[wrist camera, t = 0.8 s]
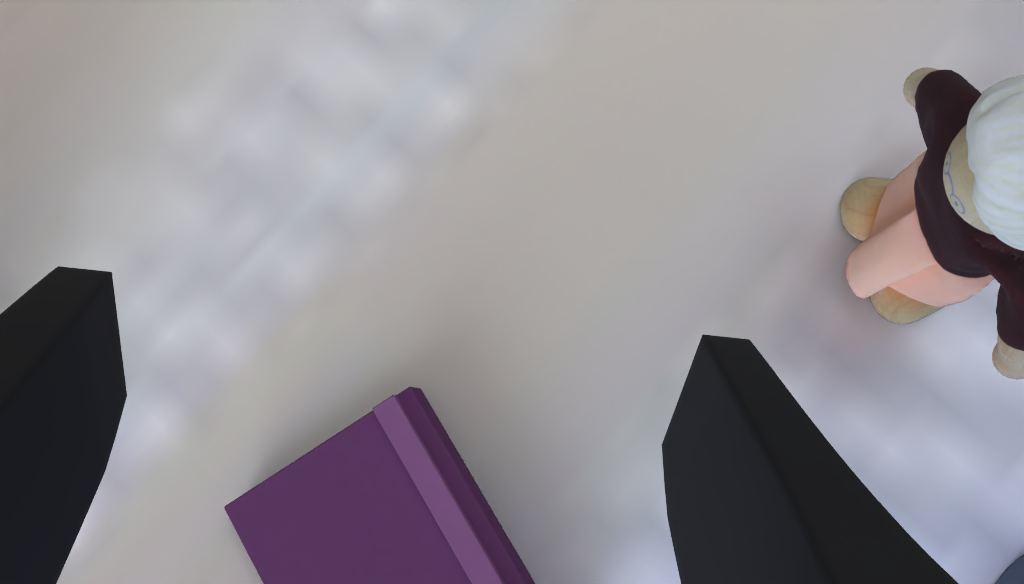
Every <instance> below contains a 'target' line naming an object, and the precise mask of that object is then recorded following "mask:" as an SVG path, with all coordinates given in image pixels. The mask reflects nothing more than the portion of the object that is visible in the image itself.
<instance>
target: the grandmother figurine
mask: <svg viewBox="0 0 1024 584" xmlns="http://www.w3.org/2000/svg"><path fill="white" fill-rule="evenodd" d="M903 91H904V97H905V99H906V101H907V102H908V103H909V104H910V105H911V106H913V107H915V109H916V112H917V114H918V118H919V124H920V128H921V131H922V134H923V138H924V141H925V144H926V146H927V151H925V152H924V153H923V154H921V155H920V156H919V157H918V158H917V159H916V160H915V161H914V162H913V163H912V164H911V165H910V166H908V167H907V168H906V169H904V170H903V171H902V172H900V173H899V174H898V175H897V176H896V177H895V178H894V179H885V178H875V177H871V178H864V179H860V180H858V181H856V182H854V183H853V184H851V185H850V186H849V187H848V188H847V190H846V191H845V193H844V194H843V197H842V200H841V219H842V223H843V225H844V227H845V228H846V230H847V231H848V232H849V233H850V234H851V235H852V236H853V237H855V238H857V239H858V240H861V241H862V242H861V243H860V244H859V245H858V246H857V247H856V248H855V249H854V250H853V251H852V252H851V254H850V255H849V258H848V262H847V268H846V276H847V280H848V283H849V285H850V287H851V289H852V291H853V292H854V294H855V295H856V296H857V297H860V298H862V299H865V298H868V297H870V299H871V301H872V304H873V306H874V308H875V309H876V311H877V312H878V313H879V314H880V315H881V316H883V317H884V318H885V319H887V320H889V321H891V322H894V323H901V324H906V323H912V322H915V321H917V320H920V319H922V318H924V317H926V316H928V315H929V314H931V313H933V312H935V311H937V310H939V309H940V308H942V307H944V306H946V305H951V304H955V303H959V302H963V301H965V300H967V299H969V298H970V297H971V296H973V295H975V294H977V293H978V292H980V291H981V290H982V289H983V288H984V287H985V286H987V285H988V284H989V283H990V282H991V281H992V280H994V279H996V280H997V281H998V282H999V283H1000V288H999V292H998V300H997V308H996V313H997V331H998V338H997V344H996V346H995V348H994V350H993V354H992V361H993V364H994V366H995V368H996V369H997V371H998V372H1000V373H1001V374H1002V375H1004V376H1006V377H1008V378H1012V379H1024V75H1021V76H1016V77H1012V78H1008V79H1005V80H1003V81H1001V82H999V83H997V84H995V85H993V86H991V87H990V88H988V89H987V90H985V91H984V92H983V93H982V94H981V93H980V92H979V91H978V90H977V89H975V88H974V87H973V86H972V85H971V84H970V83H968V82H967V80H965V79H964V78H963V77H962V76H961V75H959V74H958V73H956V72H954V71H952V70H937V69H934V68H921V69H918V70H916V71H914V72H913V73H911V74H910V76H909V77H908V78H907V79H906V81H905V83H904V89H903Z"/></svg>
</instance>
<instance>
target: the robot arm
mask: <svg viewBox="0 0 1024 584" xmlns="http://www.w3.org/2000/svg"><path fill="white" fill-rule="evenodd" d="M126 397H127V393H126V385H125V376H124V368H123V360H122V352H121V344H120V336H119V328H118V319H117V311H116V303H115V295H114V287H113V279H112V272H106V271H96V270H87V269H77V268H68V267H57V268H55V269H54V270H53V271H51V272H50V273H49V274H48V275H46V276H45V277H44V278H43V279H42V280H40V281H39V282H38V283H37V284H35V285H34V286H33V287H32V288H31V289H30V290H28V291H27V292H26V293H25V294H24V295H23V296H21V297H20V298H19V299H18V300H17V301H16V302H14V303H13V304H12V305H11V306H10V307H8V308H7V309H6V310H5V311H4V312H3V313H1V314H0V584H56V583H57V580H58V578H59V576H60V574H61V571H62V569H63V567H64V565H65V562H66V560H67V558H68V556H69V553H70V551H71V549H72V546H73V544H74V542H75V540H76V537H77V535H78V533H79V531H80V528H81V526H82V524H83V521H84V519H85V517H86V514H87V512H88V510H89V508H90V505H91V503H92V501H93V498H94V496H95V494H96V491H97V489H98V487H99V484H100V482H101V479H102V477H103V475H104V472H105V470H106V467H107V463H108V460H109V457H110V453H111V450H112V447H113V443H114V440H115V437H116V433H117V429H118V426H119V422H120V419H121V415H122V411H123V408H124V404H125V400H126ZM662 453H663V468H664V482H665V494H666V505H667V516H668V522H669V527H670V532H671V537H672V542H673V546H674V551H675V556H676V561H677V566H678V570H679V575H680V580H681V584H958V583H957V582H956V581H955V580H954V579H953V578H952V577H951V576H950V575H949V574H948V573H947V572H946V571H945V570H944V569H943V568H942V567H941V566H940V565H939V564H937V563H936V562H935V561H934V560H933V559H932V558H931V557H930V556H929V555H928V554H927V553H926V552H925V551H924V550H923V549H922V548H921V547H920V546H919V545H918V543H917V542H916V541H915V540H914V539H913V538H912V537H911V536H910V535H909V534H908V533H907V532H906V531H905V530H904V529H903V528H902V527H901V525H900V524H899V523H898V522H897V521H896V520H895V519H894V518H893V517H892V516H891V514H890V513H889V512H888V511H887V510H886V509H885V508H884V507H883V506H882V505H881V503H880V502H879V501H878V500H877V499H876V498H875V497H874V496H873V495H872V493H871V492H870V491H869V490H868V489H867V488H866V486H865V485H864V484H863V483H862V482H861V481H860V479H859V478H858V477H857V476H856V475H855V474H854V472H853V471H852V470H851V469H850V468H849V466H848V465H847V464H846V463H845V462H844V460H843V459H842V458H841V457H840V456H839V454H838V453H837V452H836V451H835V449H834V448H833V447H832V446H831V444H830V443H829V442H828V441H827V440H826V438H825V437H824V436H823V434H822V433H821V432H820V431H819V429H818V428H817V427H816V426H815V424H814V423H813V422H812V421H811V419H810V418H809V417H808V415H807V414H806V413H805V411H804V410H803V409H802V408H801V406H800V405H799V404H798V402H797V401H796V400H795V398H794V397H793V396H792V395H791V393H790V392H789V391H788V389H787V388H786V387H785V385H784V384H783V383H782V381H781V380H780V379H779V377H778V376H777V375H776V373H775V372H774V371H773V369H772V368H771V367H770V366H769V364H768V363H767V362H766V360H765V359H764V358H763V356H762V355H761V354H760V352H759V351H758V350H757V349H756V347H755V346H754V345H753V344H752V342H751V341H750V340H748V339H739V338H729V337H720V336H711V335H702V338H701V341H700V343H699V346H698V349H697V351H696V354H695V357H694V360H693V362H692V365H691V368H690V370H689V373H688V376H687V378H686V381H685V384H684V387H683V389H682V392H681V395H680V397H679V400H678V403H677V406H676V408H675V411H674V414H673V416H672V419H671V422H670V424H669V427H668V430H667V433H666V435H665V438H664V441H663V443H662Z"/></svg>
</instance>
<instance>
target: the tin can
mask: <svg viewBox="0 0 1024 584" xmlns="http://www.w3.org/2000/svg"><path fill="white" fill-rule="evenodd" d="M996 584H1024V555H1023V556H1022V557H1020V558H1019V559H1018V560H1017V561H1015V562H1014V563H1013V564H1012V565H1011V566H1010V567H1009V568H1008V569H1007V570H1006V571H1005V572H1004V574H1003V575H1002V576H1001V577H1000V578H999V580H998V581H997V582H996Z"/></svg>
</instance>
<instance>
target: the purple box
mask: <svg viewBox="0 0 1024 584" xmlns="http://www.w3.org/2000/svg"><path fill="white" fill-rule="evenodd" d="M224 508H225V510H226V512H227V514H228V516H229V518H230V520H231V522H232V524H233V526H234V528H235V529H236V531H237V533H238V535H239V537H240V539H241V541H242V543H243V545H244V547H245V549H246V551H247V553H248V554H249V556H250V558H251V560H252V562H253V564H254V566H255V568H256V570H257V572H258V574H259V576H260V577H261V579H262V581H263V583H264V584H535V583H534V581H533V579H532V577H531V576H530V574H529V572H528V571H527V569H526V567H525V566H524V564H523V562H522V560H521V559H520V557H519V555H518V554H517V552H516V550H515V549H514V547H513V545H512V543H511V542H510V540H509V538H508V537H507V535H506V533H505V531H504V530H503V528H502V526H501V525H500V523H499V521H498V520H497V518H496V516H495V514H494V513H493V511H492V509H491V508H490V506H489V504H488V503H487V501H486V499H485V497H484V496H483V494H482V492H481V491H480V489H479V487H478V485H477V484H476V482H475V480H474V479H473V477H472V475H471V474H470V472H469V470H468V468H467V467H466V465H465V463H464V462H463V460H462V458H461V457H460V455H459V453H458V451H457V450H456V448H455V446H454V445H453V443H452V441H451V439H450V438H449V436H448V434H447V433H446V431H445V429H444V428H443V426H442V424H441V422H440V421H439V419H438V417H437V416H436V414H435V412H434V411H433V409H432V407H431V405H430V404H429V402H428V400H427V399H426V397H425V395H424V394H423V392H422V390H421V389H420V388H414V387H408V388H407V389H405V390H404V391H402V392H401V393H399V394H398V395H392V396H391V397H389V398H388V399H386V400H385V401H383V402H382V403H380V404H379V405H377V406H375V407H374V408H373V411H371V412H370V413H368V414H367V415H365V416H364V417H362V418H361V419H359V420H358V421H356V422H354V423H353V424H351V425H350V426H348V427H347V428H345V429H344V430H342V431H341V432H339V433H337V434H336V435H334V436H333V437H331V438H330V439H328V440H327V441H325V442H324V443H322V444H320V445H319V446H317V447H316V448H314V449H313V450H311V451H310V452H308V453H307V454H305V455H303V456H302V457H300V458H299V459H297V460H296V461H294V462H293V463H291V464H290V465H288V466H286V467H285V468H283V469H282V470H280V471H279V472H277V473H276V474H274V475H273V476H271V477H269V478H268V479H266V480H265V481H263V482H262V483H260V484H259V485H257V486H256V487H254V488H252V489H251V490H249V491H248V492H246V493H245V494H243V495H242V496H240V497H239V498H237V499H235V500H234V501H232V502H231V503H229V504H228V505H226V506H225V507H224Z"/></svg>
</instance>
